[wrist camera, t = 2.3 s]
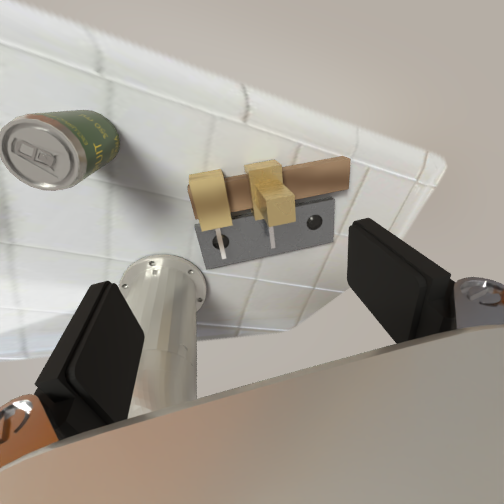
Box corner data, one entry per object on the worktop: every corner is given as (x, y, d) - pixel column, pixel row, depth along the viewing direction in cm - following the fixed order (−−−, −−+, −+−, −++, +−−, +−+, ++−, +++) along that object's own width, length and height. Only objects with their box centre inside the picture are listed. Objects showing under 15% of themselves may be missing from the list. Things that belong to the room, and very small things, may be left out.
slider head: (281, 235, 39) (302, 269, 31) (255, 241, 39) (270, 276, 31) (274, 159, 33) (298, 177, 26) (244, 165, 33) (259, 184, 25)
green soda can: (60, 146, 29) (-14, 171, 18) (75, 98, 27) (1, 96, 17) (112, 171, 31) (70, 205, 21) (128, 128, 29) (92, 143, 19)
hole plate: (330, 239, 41) (333, 242, 40) (206, 265, 40) (206, 269, 39) (331, 197, 38) (334, 199, 37) (194, 224, 36) (194, 227, 35)
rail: (339, 222, 40) (351, 232, 37) (205, 251, 38) (206, 263, 35) (343, 146, 34) (356, 150, 32) (185, 175, 33) (184, 182, 30)
